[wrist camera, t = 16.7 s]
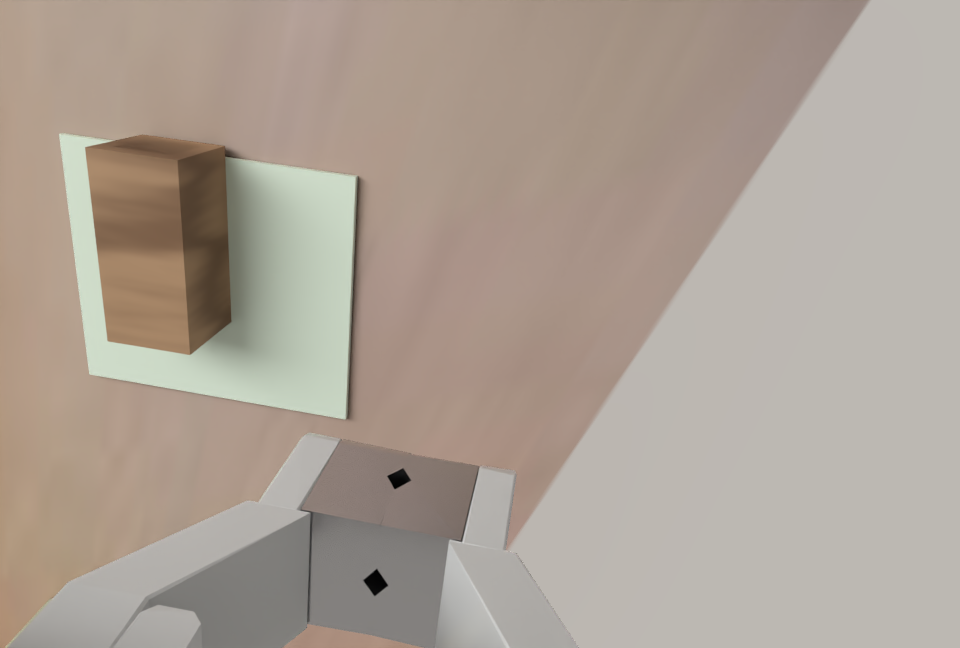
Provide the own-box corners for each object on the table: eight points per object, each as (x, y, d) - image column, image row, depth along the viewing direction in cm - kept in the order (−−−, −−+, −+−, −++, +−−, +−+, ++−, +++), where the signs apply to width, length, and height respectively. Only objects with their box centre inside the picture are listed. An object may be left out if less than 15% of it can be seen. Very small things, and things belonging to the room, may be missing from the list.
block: (84, 147, 35) (107, 341, 40) (177, 160, 35) (190, 355, 39) (142, 134, 40) (157, 309, 44) (224, 145, 39) (231, 321, 44)
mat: (63, 133, 41) (59, 134, 41) (357, 175, 39) (355, 176, 39) (93, 371, 47) (89, 374, 47) (347, 416, 46) (345, 419, 45)
